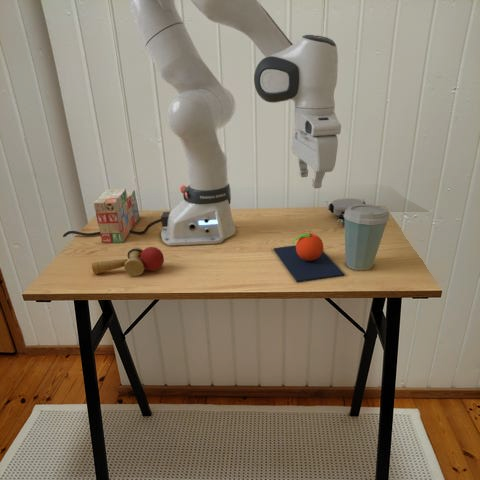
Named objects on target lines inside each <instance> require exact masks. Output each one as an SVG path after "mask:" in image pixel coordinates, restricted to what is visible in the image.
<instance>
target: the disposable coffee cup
mask: <svg viewBox="0 0 480 480" xmlns="http://www.w3.org/2000/svg"><path fill="white" fill-rule="evenodd" d="M388 209H389V208H386V207H385V206H384V207H383V206H381V205H376V204H369V203H368V204H367V203H366V204H358V205H352V206H349V207H348V208H347V209H346V210H345V213H344V216H343V217H344V222H343V223H344V248H345V249H344V251H345V263H346V266H347V267H348V268H350V269H352V270H354V271H355V270H356V271H368V270H369V269H371V268H372V266H373V265H374V263H375V260H376V257H377V254H378V251H379V248H380V245H381V242H382V238H383V235H384V232H385V230H386V226H387V222H389V221H390V212H389V211H388Z"/></svg>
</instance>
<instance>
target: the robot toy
mask: <svg viewBox="0 0 480 480" xmlns="http://www.w3.org/2000/svg"><path fill="white" fill-rule="evenodd" d="M325 202H326V204H327V210H329V212H330V213H331V214H333V215H334V216H337V217H338V218H337V223H338V224H339V223H340V224H344V223H345V222H344V217H343V216H344V213H345V210H346V209H347V208H348V207H349V206H352V205H358V204H367V203H366V201H365V198H362V199H359V198H350V197H349V198H347V197H346V198H345V197H344V198H337V199H334V200H333V201H331V203H328V200H326V201H325Z"/></svg>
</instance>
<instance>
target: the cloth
mask: <svg viewBox="0 0 480 480" xmlns="http://www.w3.org/2000/svg"><path fill="white" fill-rule="evenodd" d="M273 251H274V253H276V255H277V256H278V257H279V259H280V261H281V262H282V264H283V265H284V266H285V267H286V269H287V270H288V271H289V273H290V275H291V276H292V277H293V279H294V280H295V281H296V283H301V282H307V281H308V282H309V281H315V280H322V279H330V278H337V277H344V276H345V273H344V272H343V271H342V270H341V269H340V268H339V267H338V266H337V264H336V263H335V262H334V261H333V260H332V259H331V258H330V256H328V255H327V254H326V253H325V251H323V252H322V254H321V256H320V257H319V258H317V259H316V260H313V261H305V260H303V259H302V258H300V257H299V255H298V254H297V251H296V245H289V246H280V247H274V248H273Z"/></svg>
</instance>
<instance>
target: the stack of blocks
mask: <svg viewBox="0 0 480 480" xmlns="http://www.w3.org/2000/svg"><path fill="white" fill-rule="evenodd" d="M93 207H94V211H95V215H96V220H97V221H96V222H97V224H98V229H99V232H100V234H99V235H100V238H101V243H103V244H112V243H115V244H117V243H120V244H121V243H123V242H124V241H125V239H127V237H128V235H129V234H130V230H132V229H133V228H134V226H135V224H136V223H137V221H138V220H139V218H140V213H139V206H138V200H137V196H136V190H135V189H127V188H115V189H105V190H104V192H102V194H101V195H99V197H98V198H97V199H96V200H94V201H93Z"/></svg>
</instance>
